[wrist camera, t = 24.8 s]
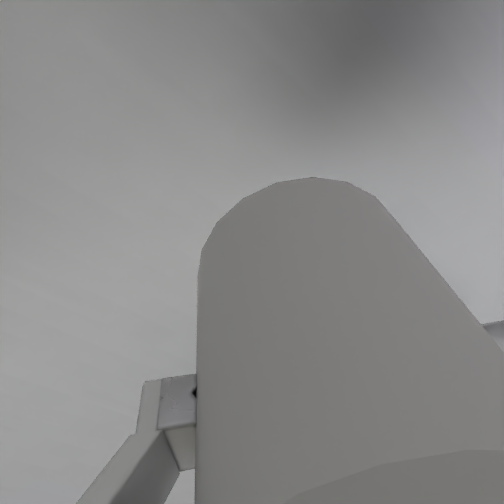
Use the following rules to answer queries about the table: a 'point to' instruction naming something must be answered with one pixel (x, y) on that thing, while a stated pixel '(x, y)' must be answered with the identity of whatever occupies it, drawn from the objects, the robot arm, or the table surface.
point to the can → (338, 361)
